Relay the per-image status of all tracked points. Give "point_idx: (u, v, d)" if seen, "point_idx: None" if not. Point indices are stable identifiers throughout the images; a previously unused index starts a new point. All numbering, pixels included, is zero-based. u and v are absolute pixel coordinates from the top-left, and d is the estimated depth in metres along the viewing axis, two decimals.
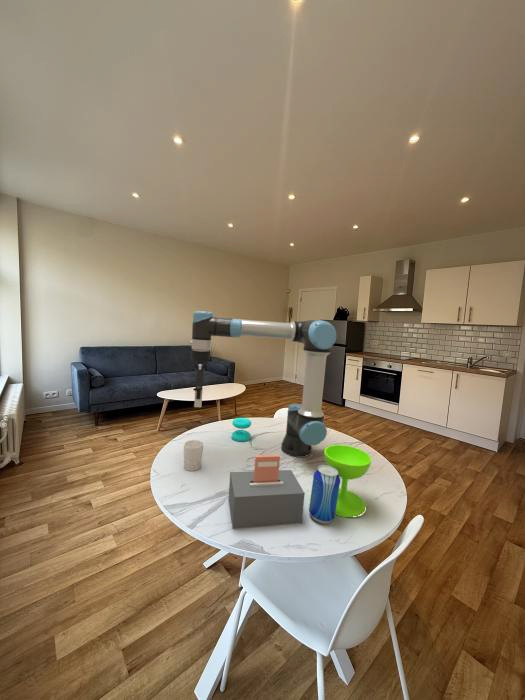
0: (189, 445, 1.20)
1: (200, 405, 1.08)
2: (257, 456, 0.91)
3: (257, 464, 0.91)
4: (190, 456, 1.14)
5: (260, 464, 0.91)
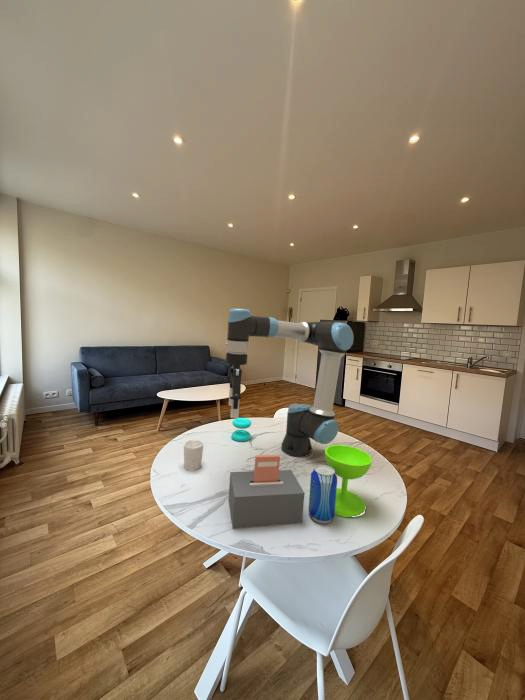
0: (189, 445, 1.20)
1: (237, 416, 0.95)
2: (257, 456, 0.91)
3: (257, 464, 0.91)
4: (190, 456, 1.14)
5: (260, 464, 0.91)
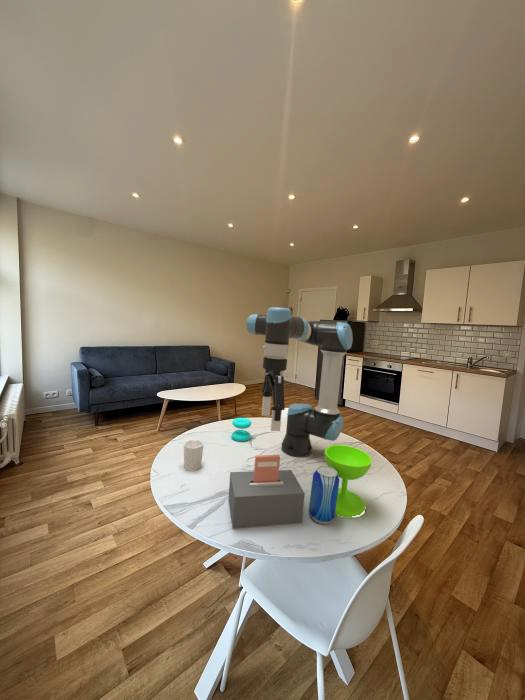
0: (189, 445, 1.20)
1: (278, 428, 0.84)
2: (257, 456, 0.91)
3: (257, 464, 0.91)
4: (190, 456, 1.14)
5: (260, 464, 0.91)
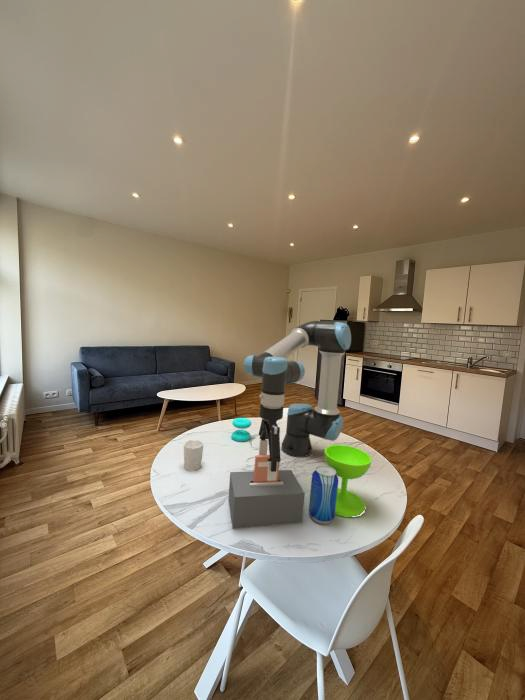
0: (189, 445, 1.20)
1: (275, 478, 0.86)
2: (257, 456, 0.91)
3: (257, 464, 0.91)
4: (190, 456, 1.14)
5: (260, 464, 0.91)
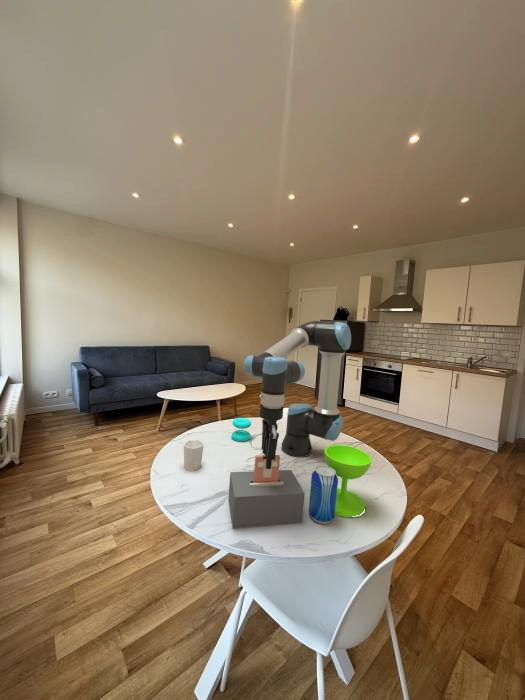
0: (189, 445, 1.20)
1: (270, 475, 0.92)
2: (257, 456, 0.91)
3: (257, 464, 0.91)
4: (190, 456, 1.14)
5: (260, 464, 0.91)
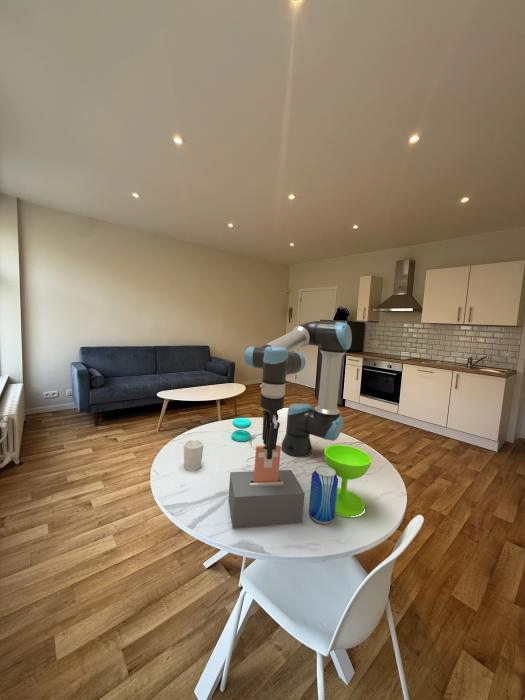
0: (189, 445, 1.20)
1: (270, 465, 0.91)
2: (258, 446, 0.91)
3: (258, 454, 0.91)
4: (190, 456, 1.14)
5: (261, 454, 0.91)
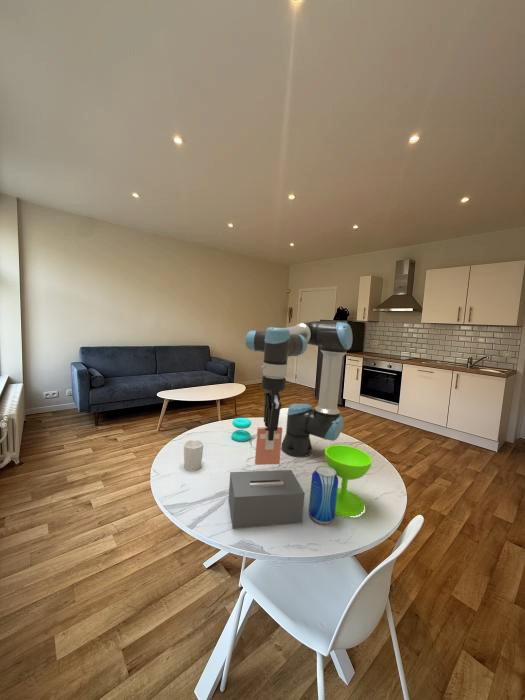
0: (189, 445, 1.20)
1: (272, 447, 0.91)
2: (259, 428, 0.91)
3: (259, 436, 0.90)
4: (190, 456, 1.14)
5: (263, 436, 0.90)
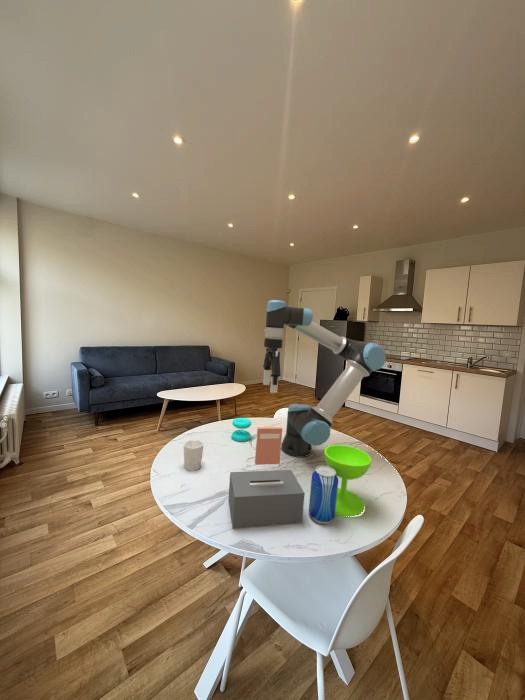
0: (189, 445, 1.20)
1: (276, 391, 1.12)
2: (259, 428, 0.91)
3: (259, 436, 0.90)
4: (190, 456, 1.14)
5: (263, 436, 0.90)
